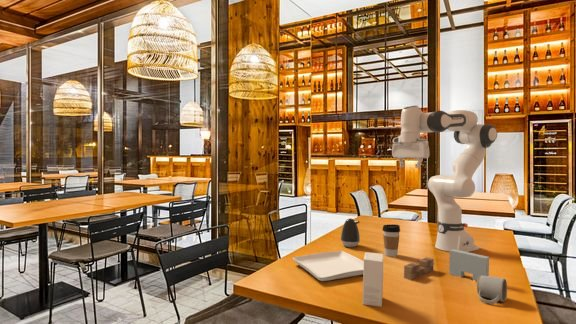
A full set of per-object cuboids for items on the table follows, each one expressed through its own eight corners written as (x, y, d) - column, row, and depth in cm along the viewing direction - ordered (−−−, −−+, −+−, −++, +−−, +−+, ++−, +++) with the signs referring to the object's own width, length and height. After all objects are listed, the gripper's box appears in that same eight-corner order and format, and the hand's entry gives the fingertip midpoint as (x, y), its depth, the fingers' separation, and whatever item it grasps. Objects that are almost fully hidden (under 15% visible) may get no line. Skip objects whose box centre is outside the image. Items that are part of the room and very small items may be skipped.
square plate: (291, 264, 153) (291, 256, 153) (342, 257, 164) (342, 249, 164) (319, 286, 128) (319, 276, 128) (377, 276, 139) (377, 266, 139)
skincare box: (364, 294, 120) (364, 251, 119) (383, 297, 118) (383, 253, 117) (362, 305, 111) (362, 258, 111) (382, 307, 110) (383, 260, 109)
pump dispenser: (355, 249, 176) (355, 221, 175) (337, 246, 182) (337, 218, 182) (363, 245, 184) (363, 218, 183) (346, 242, 190) (346, 216, 190)
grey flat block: (449, 273, 141) (449, 250, 140) (452, 272, 143) (453, 249, 142) (485, 283, 130) (485, 258, 130) (488, 282, 132) (489, 256, 131)
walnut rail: (426, 268, 147) (426, 257, 147) (433, 270, 145) (433, 258, 145) (404, 277, 136) (404, 265, 136) (410, 280, 134) (410, 267, 133)
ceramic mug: (481, 291, 123) (481, 270, 123) (507, 297, 117) (507, 276, 117) (473, 301, 115) (473, 279, 115) (500, 308, 109) (500, 285, 109)
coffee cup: (401, 258, 162) (401, 227, 161) (382, 257, 163) (383, 226, 163) (398, 253, 170) (399, 223, 170) (381, 252, 172) (381, 223, 171)
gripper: (432, 138, 155) (432, 168, 156) (399, 139, 173) (398, 166, 174) (423, 138, 152) (423, 168, 153) (390, 139, 170) (389, 166, 171)
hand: (409, 167), depth 163 cm, fingers open, 8 cm apart
